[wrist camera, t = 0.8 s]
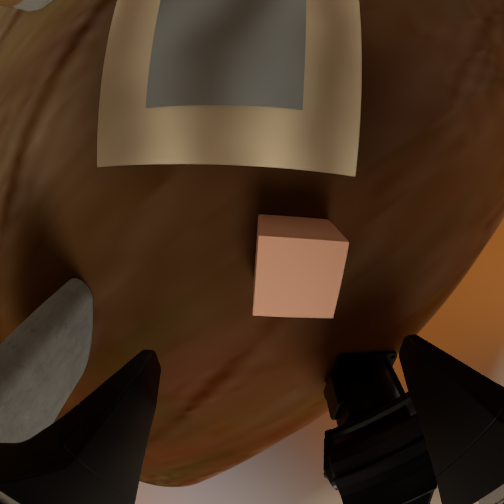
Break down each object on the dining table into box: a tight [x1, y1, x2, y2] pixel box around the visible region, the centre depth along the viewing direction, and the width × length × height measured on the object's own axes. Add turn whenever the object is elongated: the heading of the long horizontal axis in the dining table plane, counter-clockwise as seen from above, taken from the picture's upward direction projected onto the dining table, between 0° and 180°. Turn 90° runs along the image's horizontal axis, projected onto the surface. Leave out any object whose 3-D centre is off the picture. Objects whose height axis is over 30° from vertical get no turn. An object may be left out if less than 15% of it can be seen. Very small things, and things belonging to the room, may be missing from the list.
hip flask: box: [0, 278, 93, 443], centre depth 15 cm, size 16×4×20 cm, turn 152°
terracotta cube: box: [253, 214, 349, 318], centre depth 18 cm, size 5×5×5 cm
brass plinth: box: [97, 0, 362, 176], centre depth 13 cm, size 16×16×3 cm
